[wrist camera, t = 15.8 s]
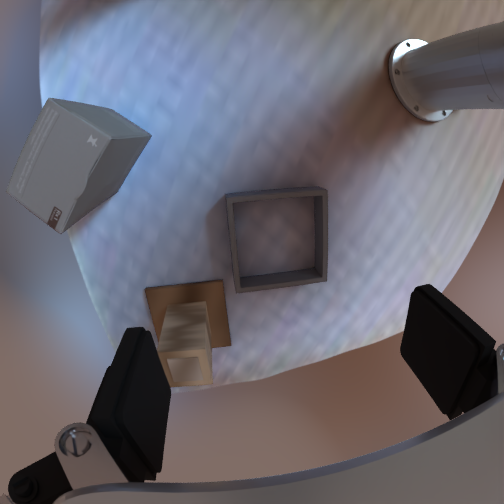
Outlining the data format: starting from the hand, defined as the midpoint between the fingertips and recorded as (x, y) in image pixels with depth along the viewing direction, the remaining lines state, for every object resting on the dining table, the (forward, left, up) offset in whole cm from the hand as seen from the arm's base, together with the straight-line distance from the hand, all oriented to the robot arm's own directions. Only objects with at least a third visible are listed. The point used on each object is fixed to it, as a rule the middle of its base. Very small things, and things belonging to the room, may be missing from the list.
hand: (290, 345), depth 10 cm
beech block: (+7, +14, -26) cm, 30 cm away
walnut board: (+7, +14, -27) cm, 31 cm away
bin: (-5, +4, -27) cm, 27 cm away
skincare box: (+13, -8, -27) cm, 31 cm away
